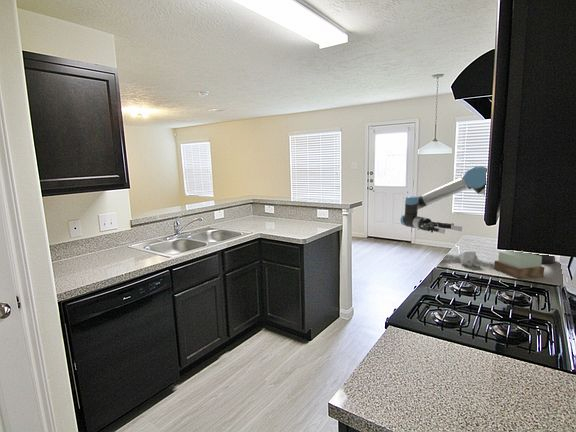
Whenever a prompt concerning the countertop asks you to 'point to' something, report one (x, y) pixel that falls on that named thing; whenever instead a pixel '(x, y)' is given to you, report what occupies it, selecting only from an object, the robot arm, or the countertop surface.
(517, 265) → the tower top
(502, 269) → the tower base
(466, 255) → the gray faceted rock
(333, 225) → the countertop surface
